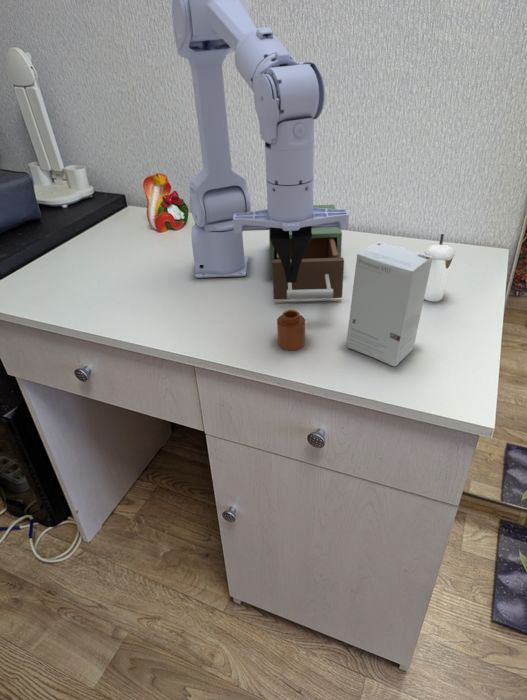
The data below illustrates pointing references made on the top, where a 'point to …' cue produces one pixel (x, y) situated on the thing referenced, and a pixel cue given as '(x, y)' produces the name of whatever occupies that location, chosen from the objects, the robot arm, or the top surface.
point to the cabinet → (315, 234)
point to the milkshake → (438, 269)
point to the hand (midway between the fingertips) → (291, 279)
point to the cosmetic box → (387, 301)
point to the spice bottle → (291, 330)
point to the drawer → (312, 273)
